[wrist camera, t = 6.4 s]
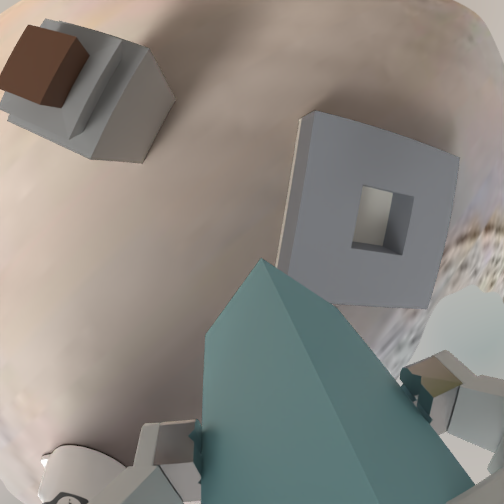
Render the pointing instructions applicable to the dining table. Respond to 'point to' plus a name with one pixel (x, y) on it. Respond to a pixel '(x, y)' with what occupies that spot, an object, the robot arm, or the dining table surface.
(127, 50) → the perfume bottle
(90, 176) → the dining table surface
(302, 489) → the peg
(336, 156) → the socket block
